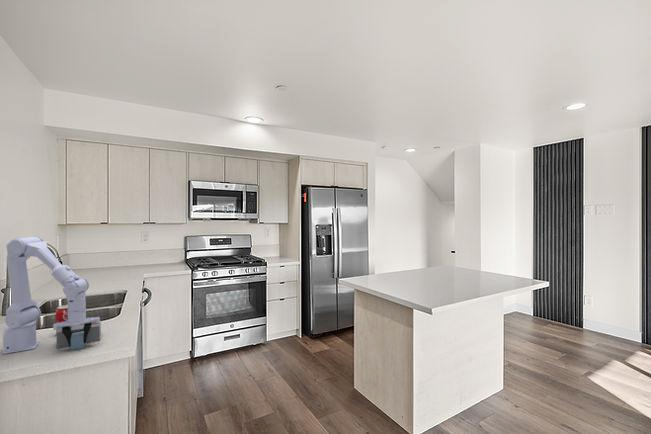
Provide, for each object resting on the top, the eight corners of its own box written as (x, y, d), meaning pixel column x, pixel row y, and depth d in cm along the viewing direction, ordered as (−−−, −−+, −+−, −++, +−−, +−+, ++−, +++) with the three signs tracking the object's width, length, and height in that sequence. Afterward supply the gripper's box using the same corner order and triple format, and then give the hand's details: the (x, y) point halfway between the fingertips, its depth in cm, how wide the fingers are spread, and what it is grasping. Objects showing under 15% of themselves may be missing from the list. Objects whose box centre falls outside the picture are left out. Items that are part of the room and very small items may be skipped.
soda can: (58, 337, 141) (57, 309, 140) (53, 333, 145) (52, 306, 144) (78, 332, 146) (77, 305, 146) (73, 328, 150) (72, 303, 150)
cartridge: (71, 350, 128) (70, 337, 128) (74, 338, 139) (74, 327, 139) (83, 347, 130) (83, 335, 130) (86, 336, 141) (86, 325, 141)
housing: (56, 348, 130) (56, 332, 130) (60, 340, 138) (59, 325, 138) (99, 340, 138) (99, 325, 137) (100, 333, 145) (100, 319, 145)
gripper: (51, 315, 123) (52, 351, 123) (98, 309, 131) (99, 343, 131) (54, 310, 129) (55, 345, 129) (99, 304, 137) (100, 337, 137)
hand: (77, 343), depth 131 cm, fingers closed on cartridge, 4 cm apart
